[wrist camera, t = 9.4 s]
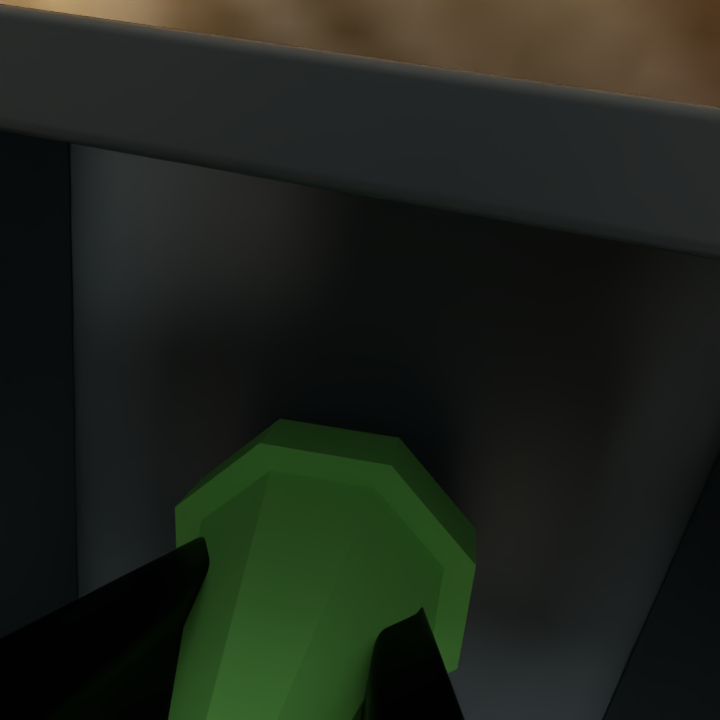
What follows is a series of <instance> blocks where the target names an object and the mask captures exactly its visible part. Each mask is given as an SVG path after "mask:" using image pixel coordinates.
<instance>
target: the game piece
mask: <svg viewBox="0 0 720 720" xmlns="http://www.w3.org/2000/svg"><path fill="white" fill-rule="evenodd" d="M175 525H176V548H178V547H180V546H182V545H184V544H186V543H188V542H190V541H192V540H194V539H196V538H199V537H204V538H205V541H206V545H207V550H208V554H209V560H210V563H209V568H208V572H207V574H206V577H205V579H204V581H203V583H202V586H201V588H200V590H199V592H198V595H197V597H196V599H195V601H194V604H193V606H192V608H191V610H190V613H189V615H188V617H187V619H186V622H185V624H184V627H183V633H182V639H181V645H180V651H179V657H178V662H177V668H176V674H175V680H174V686H173V692H172V698H171V704H170V710H169V716H168V720H361V715H362V710H363V705H364V700H365V693H366V686H367V680H368V675H369V669H370V664H371V659H372V654H373V650H374V645H375V642H376V639H377V637H378V635H379V634H380V633H381V631H383V630H384V629H385V628H387V627H389V626H391V625H394V624H396V623H398V622H400V621H402V620H404V619H406V618H409V617H411V616H413V615H415V614H416V613H417V612H418V611H419V610H420V609H421V608H422V607H423V608H424V611H425V614H426V616H427V619H428V622H429V624H430V627H431V630H432V632H433V635H434V638H435V641H436V643H437V646H438V649H439V651H440V654H441V657H442V659H443V662H444V665H445V668H446V670H447V673H450V672H452V671H454V670H456V669H457V668H458V663H459V657H460V652H461V646H462V640H463V635H464V629H465V624H466V618H467V613H468V607H469V602H470V596H471V590H472V585H473V579H474V574H475V568H476V529H475V528H474V526H473V525H472V524H471V523H470V522H469V520H468V519H467V518H466V517H465V516H464V514H463V513H462V512H461V511H460V510H459V509H458V507H457V506H456V505H455V504H454V503H453V501H452V500H451V499H450V498H449V497H448V495H447V494H446V493H445V492H444V491H443V489H442V488H441V487H440V486H439V485H438V483H437V482H436V481H435V480H434V479H433V477H432V476H431V475H430V474H429V473H428V471H427V470H426V469H425V468H424V467H423V465H422V464H421V463H420V462H419V461H418V460H417V458H416V457H415V456H414V455H413V454H412V452H411V451H410V450H409V449H408V448H407V446H406V445H405V444H404V443H403V442H402V440H401V439H400V438H398V437H392V436H385V435H379V434H373V433H367V432H361V431H354V430H348V429H342V428H336V427H329V426H323V425H317V424H311V423H305V422H298V421H292V420H286V419H279V420H277V421H276V422H275V423H273V424H272V425H271V426H270V427H268V428H267V429H266V430H264V431H263V432H262V433H260V434H259V435H258V436H256V437H255V438H254V439H253V440H251V441H250V442H249V443H247V444H246V445H245V446H243V447H242V448H241V449H240V450H238V451H237V452H236V453H234V454H233V455H232V456H230V457H229V458H228V459H226V460H225V461H224V462H223V463H221V464H220V465H219V466H217V467H216V468H215V469H213V470H212V471H211V472H209V473H208V474H207V475H206V476H204V477H203V478H202V479H201V480H200V481H199V482H198V483H197V484H196V485H195V486H194V487H193V488H192V489H191V490H190V492H189V493H188V494H187V495H186V496H185V497H184V498H183V499H182V500H181V501H180V502H179V503H178V505H177V506H176V507H175Z"/></svg>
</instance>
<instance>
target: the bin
mask: <svg viewBox="0 0 720 720" xmlns="http://www.w3.org/2000/svg"><path fill="white" fill-rule="evenodd" d="M279 419H286V420H292V421H298V422H305V423H311V424H317V425H323V426H329V427H336V428H342V429H348V430H354V431H361V432H367V433H373V434H379V435H385V436H392V437H398V438H400V439H401V440H402V442H403V443H404V444H405V445H406V446H407V448H408V449H409V450H410V451H411V452H412V454H413V455H414V456H415V457H416V458H417V460H418V461H419V462H420V463H421V464H422V465H423V467H424V468H425V469H426V470H427V471H428V473H429V474H430V475H431V476H432V477H433V479H434V480H435V481H436V482H437V483H438V485H439V486H440V487H441V488H442V489H443V491H444V492H445V493H446V494H447V495H448V497H449V498H450V499H451V500H452V501H453V503H454V504H455V505H456V506H457V507H458V509H459V510H460V511H461V512H462V513H463V514H464V516H465V517H466V518H467V519H468V520H469V522H470V523H471V524H472V525H473V526H474V528H475V529H476V568H475V574H474V579H473V585H472V590H471V596H470V602H469V607H468V613H467V618H466V624H465V629H464V635H463V640H462V646H461V652H460V657H459V663H458V668H457V669H456V670H454V671H452V672H450V673H448V676H449V678H450V681H451V684H452V686H453V689H454V692H455V695H456V697H457V700H458V703H459V705H460V708H461V711H462V713H463V716H464V719H465V720H720V107H714V106H707V105H700V104H693V103H686V102H679V101H672V100H665V99H658V98H651V97H644V96H637V95H630V94H624V93H617V92H610V91H603V90H596V89H589V88H582V87H575V86H568V85H561V84H554V83H547V82H540V81H533V80H526V79H519V78H512V77H505V76H498V75H491V74H484V73H478V72H471V71H464V70H457V69H450V68H443V67H436V66H429V65H422V64H415V63H408V62H401V61H394V60H387V59H380V58H373V57H366V56H359V55H352V54H345V53H338V52H331V51H325V50H318V49H311V48H304V47H297V46H290V45H283V44H276V43H269V42H262V41H255V40H248V39H241V38H234V37H227V36H220V35H213V34H206V33H199V32H192V31H185V30H178V29H172V28H165V27H158V26H151V25H144V24H137V23H130V22H123V21H116V20H109V19H102V18H95V17H88V16H81V15H74V14H67V13H60V12H53V11H46V10H39V9H32V8H25V7H19V6H12V5H5V4H0V638H2V637H4V636H6V635H8V634H10V633H12V632H14V631H16V630H18V629H20V628H22V627H24V626H26V625H28V624H30V623H32V622H34V621H35V620H37V619H39V618H41V617H43V616H45V615H47V614H49V613H51V612H53V611H55V610H57V609H59V608H61V607H63V606H65V605H67V604H69V603H71V602H73V601H75V600H77V599H79V598H81V597H82V596H84V595H86V594H88V593H90V592H92V591H94V590H96V589H98V588H100V587H102V586H104V585H106V584H108V583H110V582H112V581H114V580H116V579H118V578H120V577H122V576H124V575H126V574H127V573H129V572H131V571H133V570H135V569H137V568H139V567H141V566H143V565H145V564H147V563H149V562H151V561H153V560H155V559H157V558H159V557H161V556H163V555H165V554H167V553H169V552H171V551H172V550H174V549H176V525H175V507H176V506H177V505H178V503H179V502H180V501H181V500H182V499H183V498H184V497H185V496H186V495H187V494H188V493H189V492H190V490H191V489H192V488H193V487H194V486H195V485H196V484H197V483H198V482H199V481H200V480H201V479H202V478H203V477H204V476H206V475H207V474H208V473H209V472H211V471H212V470H213V469H215V468H216V467H217V466H219V465H220V464H221V463H223V462H224V461H225V460H226V459H228V458H229V457H230V456H232V455H233V454H234V453H236V452H237V451H238V450H240V449H241V448H242V447H243V446H245V445H246V444H247V443H249V442H250V441H251V440H253V439H254V438H255V437H256V436H258V435H259V434H260V433H262V432H263V431H264V430H266V429H267V428H268V427H270V426H271V425H272V424H273V423H275V422H276V421H277V420H279Z"/></svg>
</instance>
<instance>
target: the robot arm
mask: <svg viewBox="0 0 720 720" xmlns="http://www.w3.org/2000/svg"><path fill="white" fill-rule="evenodd" d="M209 563H210V560H209V554H208V550H207V545H206V541H205V538H204V537H199V538H196V539H194V540H192V541H190V542H188V543H186V544H184V545H182V546H180V547H178V548H176V549H174V550H172V551H171V552H169V553H167V554H165V555H163V556H161V557H159V558H157V559H155V560H153V561H151V562H149V563H147V564H145V565H143V566H141V567H139V568H137V569H135V570H133V571H131V572H129V573H127V574H126V575H124V576H122V577H120V578H118V579H116V580H114V581H112V582H110V583H108V584H106V585H104V586H102V587H100V588H98V589H96V590H94V591H92V592H90V593H88V594H86V595H84V596H82V597H81V598H79V599H77V600H75V601H73V602H71V603H69V604H67V605H65V606H63V607H61V608H59V609H57V610H55V611H53V612H51V613H49V614H47V615H45V616H43V617H41V618H39V619H37V620H35V621H34V622H32V623H30V624H28V625H26V626H24V627H22V628H20V629H18V630H16V631H14V632H12V633H10V634H8V635H6V636H4V637H2V638H0V720H168V716H169V710H170V704H171V698H172V692H173V686H174V680H175V674H176V668H177V662H178V657H179V651H180V645H181V639H182V633H183V627H184V624H185V622H186V619H187V617H188V615H189V613H190V610H191V608H192V606H193V604H194V601H195V599H196V597H197V595H198V592H199V590H200V588H201V586H202V583H203V581H204V579H205V577H206V574H207V572H208V568H209ZM361 720H465V719H464V716H463V713H462V711H461V708H460V705H459V703H458V700H457V697H456V695H455V692H454V689H453V686H452V684H451V681H450V678H449V676H448V673H447V670H446V668H445V665H444V662H443V659H442V657H441V654H440V651H439V649H438V646H437V643H436V641H435V638H434V635H433V632H432V630H431V627H430V624H429V622H428V619H427V616H426V614H425V611H424V608H423V607H422V608H421V609H420V610H419V611H418V612H417V613H416V614H415V615H413V616H411V617H409V618H406V619H404V620H402V621H400V622H398V623H396V624H394V625H391V626H389V627H387V628H385V629H384V630H383V631H381V633H380V634H379V635H378V637H377V639H376V642H375V645H374V650H373V654H372V659H371V664H370V669H369V675H368V680H367V686H366V693H365V700H364V705H363V710H362V715H361Z"/></svg>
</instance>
